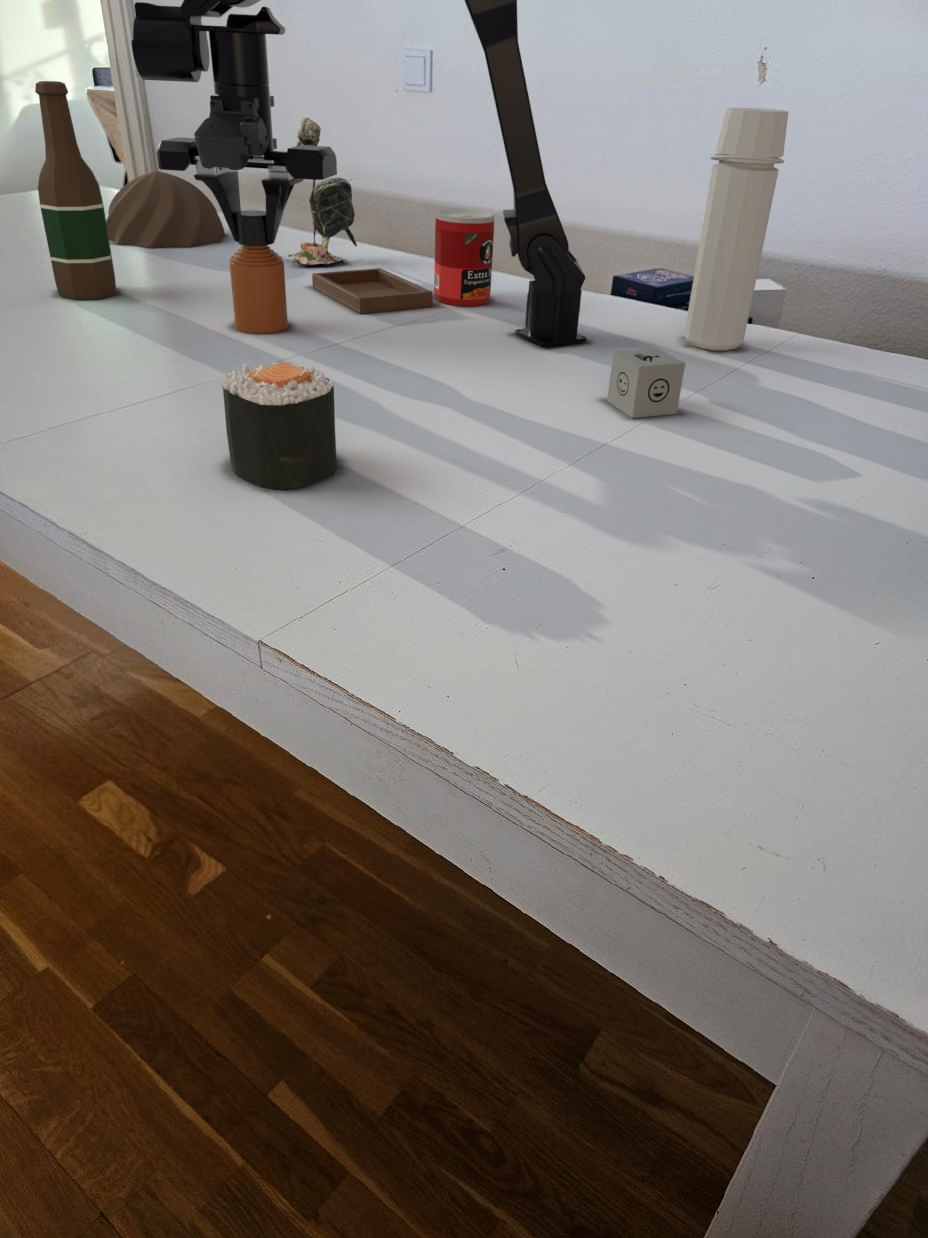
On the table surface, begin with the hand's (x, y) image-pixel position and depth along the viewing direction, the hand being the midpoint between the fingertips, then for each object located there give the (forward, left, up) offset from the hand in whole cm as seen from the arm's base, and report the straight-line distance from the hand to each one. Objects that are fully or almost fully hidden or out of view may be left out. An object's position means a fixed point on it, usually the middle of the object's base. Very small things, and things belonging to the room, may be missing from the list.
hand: (254, 242), depth 103 cm
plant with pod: (+32, -22, -10) cm, 40 cm away
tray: (+9, -19, -10) cm, 23 cm away
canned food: (+3, -30, -10) cm, 32 cm away
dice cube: (-42, -24, -10) cm, 49 cm away
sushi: (-41, +13, -10) cm, 44 cm away
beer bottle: (+24, +15, -10) cm, 30 cm away
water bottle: (-27, -48, -10) cm, 56 cm away
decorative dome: (+60, -5, -10) cm, 61 cm away
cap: (0, 0, 0) cm, 0 cm away
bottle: (0, 0, -10) cm, 10 cm away
